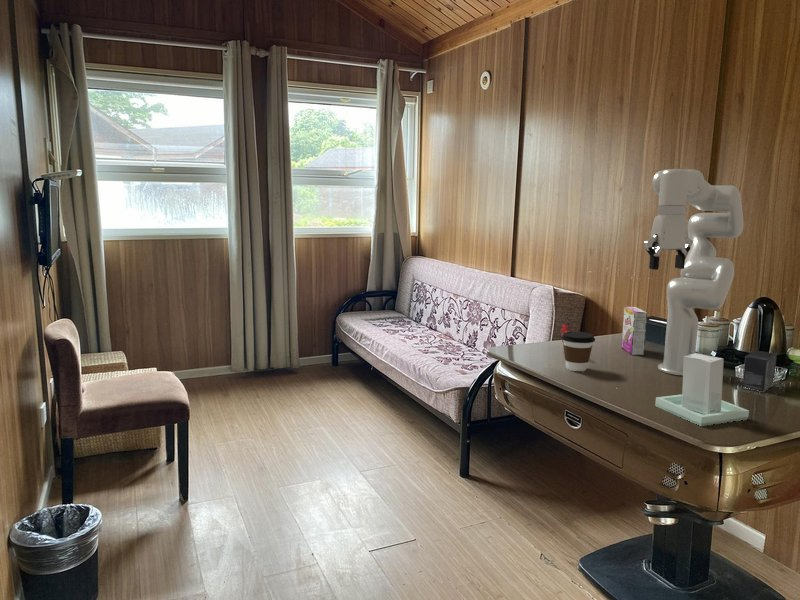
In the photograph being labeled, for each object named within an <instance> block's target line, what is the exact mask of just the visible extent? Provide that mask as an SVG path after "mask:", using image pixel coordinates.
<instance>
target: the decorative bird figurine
mask: <svg viewBox="0 0 800 600" xmlns="http://www.w3.org/2000/svg"><path fill="white" fill-rule="evenodd" d="M560 331H561V333H560V334H561V336H562V335H563V333H565V332H571V331H570V330H569V327H568V325H567V324H565V323H563V324H561V328H560ZM561 342H562V345H563V344H564V342H563V339H561Z"/></svg>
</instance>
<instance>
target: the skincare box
mask: <svg viewBox="0 0 800 600" xmlns="http://www.w3.org/2000/svg"><path fill="white" fill-rule="evenodd" d="M724 361H725V359H724V358H722V357H717V356H711V355H707V354H702V353H699V352H698V353H697V352H696V353H694V354H690V355H687V356H684V366H683V376H682V390H681V394H682V407H684V408H686V409H690V410H693V411H696V412H700V413H703V414H713V413H719V412H720V411H721V401H722V400H723V398H722V397H723V396H722V395H723V381H724V380H723V378H724Z"/></svg>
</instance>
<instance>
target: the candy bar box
mask: <svg viewBox="0 0 800 600" xmlns="http://www.w3.org/2000/svg"><path fill="white" fill-rule="evenodd" d="M622 321H623V322H622V323H623V324H622V334H621V335H622V336H621V337H622V339H621V349H623V350H624V351H626V352H627V353H629V354H630V355H631V356H644V355H645V346H646V332H647V321H648V312H646V311H645V310H643V309H641V308H639V307H637V306H624V307H623V318H622Z"/></svg>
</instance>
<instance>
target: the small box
mask: <svg viewBox="0 0 800 600" xmlns="http://www.w3.org/2000/svg"><path fill="white" fill-rule="evenodd" d="M777 354H778V353H776V352H768V351H761V350H754V351H752V352H750V353H749V354H746V355H745V356H744V366H743V376H742V377H743V378H742V384H741V385H742V387H746V388H750V389H755V390H759V391H765V390H767V389H768V388H769V387H770V386H771V385H772V383H773V378H774V379H775V376H774V374H775V373H776V366H777V356H778V355H777ZM742 387H741V388H742ZM768 390H769V389H768ZM768 390H767V391H768Z"/></svg>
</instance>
